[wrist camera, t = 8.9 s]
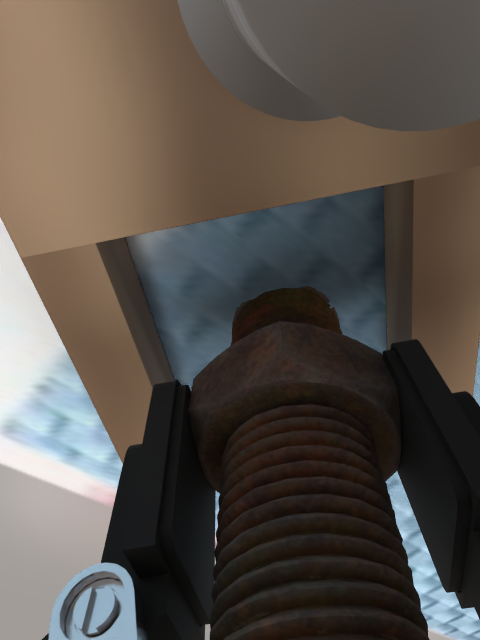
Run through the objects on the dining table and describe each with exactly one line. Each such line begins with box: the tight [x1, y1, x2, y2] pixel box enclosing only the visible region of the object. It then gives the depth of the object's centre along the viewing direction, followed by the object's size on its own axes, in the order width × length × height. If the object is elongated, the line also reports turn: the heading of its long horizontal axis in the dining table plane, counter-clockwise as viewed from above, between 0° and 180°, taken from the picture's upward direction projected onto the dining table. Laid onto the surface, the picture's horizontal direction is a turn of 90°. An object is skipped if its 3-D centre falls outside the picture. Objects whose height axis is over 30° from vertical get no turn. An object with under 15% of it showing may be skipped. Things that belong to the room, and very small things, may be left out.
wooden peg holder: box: [0, 0, 480, 463], centre depth 10 cm, size 12×18×9 cm, turn 11°
